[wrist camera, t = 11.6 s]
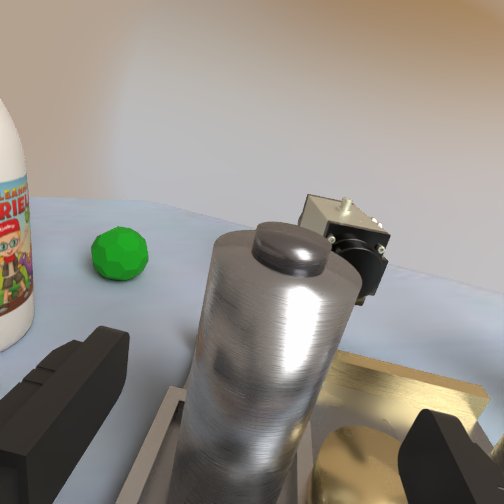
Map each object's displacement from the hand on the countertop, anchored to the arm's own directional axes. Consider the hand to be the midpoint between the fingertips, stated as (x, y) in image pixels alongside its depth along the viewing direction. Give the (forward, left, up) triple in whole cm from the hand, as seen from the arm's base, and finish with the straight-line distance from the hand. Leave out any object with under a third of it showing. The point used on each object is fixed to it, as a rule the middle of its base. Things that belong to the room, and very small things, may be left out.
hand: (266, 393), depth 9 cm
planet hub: (0, +3, -9) cm, 10 cm away
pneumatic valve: (+5, +21, -10) cm, 24 cm away
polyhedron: (-14, +20, -10) cm, 26 cm away
